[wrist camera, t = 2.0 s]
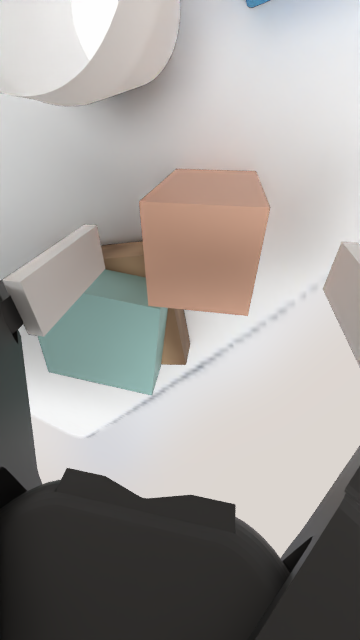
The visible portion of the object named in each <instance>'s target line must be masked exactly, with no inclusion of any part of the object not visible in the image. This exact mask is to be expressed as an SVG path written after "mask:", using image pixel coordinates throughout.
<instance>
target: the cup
mask: <svg viewBox="0 0 360 640" xmlns="http://www.w3.org/2000/svg"><path fill="white" fill-rule="evenodd" d="M179 23H180V0H0V93H3V94H7V95H12V96H17V97H23V98H29V99H34V100H38V101H41V102H44V103H48V104H52V105H57V106H81V105H86V104H91V103H94V102H97V101H100V100H103V99H106V98H109V97H112V96H115V95H117V94H120V93H123V92H126V91H129V90H131V89H134V88H137V87H140V86H143V85H145V84H147V83H149V82H150V81H152V80H153V79H154V78H156V77H157V76H158V75H159V74H160V73H161V71H162V70H163V69H164V67H165V66H166V64H167V63H168V61H169V59H170V57H171V55H172V52H173V50H174V47H175V44H176V40H177V36H178V30H179Z"/></svg>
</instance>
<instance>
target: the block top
mask: <svg viewBox="0 0 360 640" xmlns="http://www.w3.org/2000/svg"><path fill="white" fill-rule="evenodd" d="M167 312H168V308H165V307H155V306H148V296H147V285H146V278H145V277H140V276H136V275H131V274H126V273H121V272H116V271H111V270H106V269H105V270H104V271H103V272H102V273H101V274H100V275H99V276H98V277H97V279H96V280H95V281H94V282H93V283H92V284H91V285H90V286H89V287H88V288H87V290H86V291H85V292H84V293H83V294H82V295H81V296H80V297H79V298H78V300H77V301H76V302H75V303H74V304H73V305H72V306H71V307H70V308H69V310H68V311H67V312H66V313H65V314H64V315H63V316H62V317H61V318H60V319H59V321H58V322H57V323H56V324H55V325H54V326H53V327H52V328H51V329H50V331H49V332H48V333H47V334H46V335H45V336H44V337H43V336H38V338H39V342H40V345H41V348H42V352H43V355H44V358H45V361H46V365H47V368H48V371H49V372H51V373H55V374H60V375H64V376H68V377H73V378H77V379H82V380H86V381H90V382H95V383H99V384H104V385H108V386H112V387H117V388H121V389H126V390H130V391H135V392H139V393H143V394H148V395H152V394H153V390H154V387H155V384H156V380H157V377H158V374H159V371H160V367H161V361H162V353H163V345H164V336H165V328H166V320H167Z"/></svg>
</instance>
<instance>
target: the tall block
mask: <svg viewBox="0 0 360 640" xmlns="http://www.w3.org/2000/svg"><path fill="white" fill-rule="evenodd" d="M139 207H140V218H141V229H142V240H143V251H144V263H145V274H146V285H147V296H148V306H155V307H165V308H175V309H185V310H195V311H205V312H215V313H225V314H235V315H245V316H248V312H249V307H250V303H251V298H252V293H253V288H254V283H255V279H256V274H257V269H258V264H259V259H260V254H261V250H262V245H263V240H264V235H265V230H266V226H267V221H268V216H269V211H270V206H269V203H268V201H267V198H266V196H265V193H264V191H263V188H262V185H261V183H260V180H259V178H258V175H257V173H256V171H232V170H198V169H176V170H175V171H173V172H172V173H171V174H170V175H169V176H168V177H167V178H165V179H164V180H163V181H162V182H161V183H160V184H159V185H157V186H156V187H155V188H154V189H153V190H152V191H151V192H149V193H148V194H147V195H146V196H145V197H144V198H143V199H141V200H140V201H139Z"/></svg>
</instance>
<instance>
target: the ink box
mask: <svg viewBox="0 0 360 640" xmlns="http://www.w3.org/2000/svg"><path fill="white" fill-rule="evenodd" d="M267 1H269V0H246V2H247V6H248V7H252V8H253V7H255V6H258V5H260V4H262V3H265V2H267Z"/></svg>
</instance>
